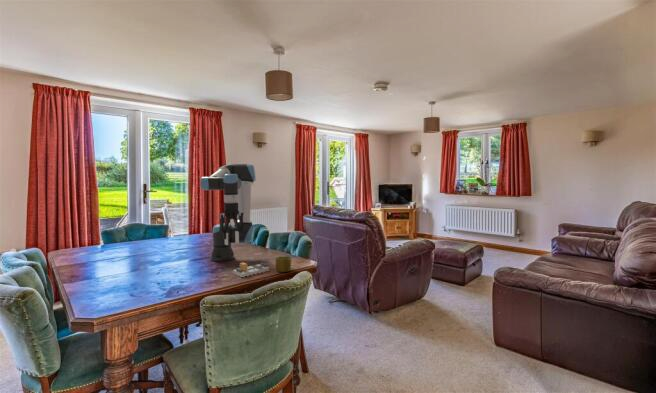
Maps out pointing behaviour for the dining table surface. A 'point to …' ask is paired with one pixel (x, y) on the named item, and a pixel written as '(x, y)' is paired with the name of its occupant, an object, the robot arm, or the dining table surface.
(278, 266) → the mug
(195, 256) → the dining table surface
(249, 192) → the robot arm
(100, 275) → the dining table surface
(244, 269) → the fader
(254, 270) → the console
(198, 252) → the dining table surface
